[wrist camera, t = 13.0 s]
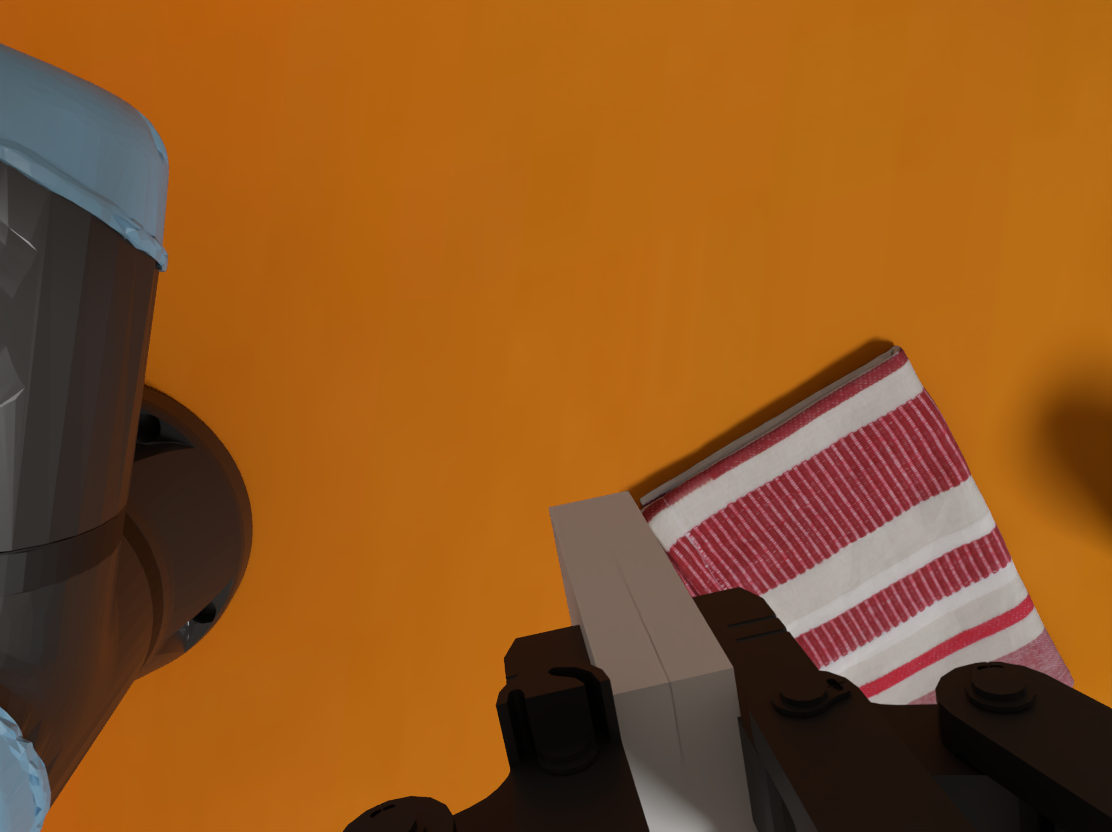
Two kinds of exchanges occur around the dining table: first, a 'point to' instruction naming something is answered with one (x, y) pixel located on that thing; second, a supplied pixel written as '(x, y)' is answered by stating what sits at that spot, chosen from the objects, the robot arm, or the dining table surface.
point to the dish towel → (858, 538)
